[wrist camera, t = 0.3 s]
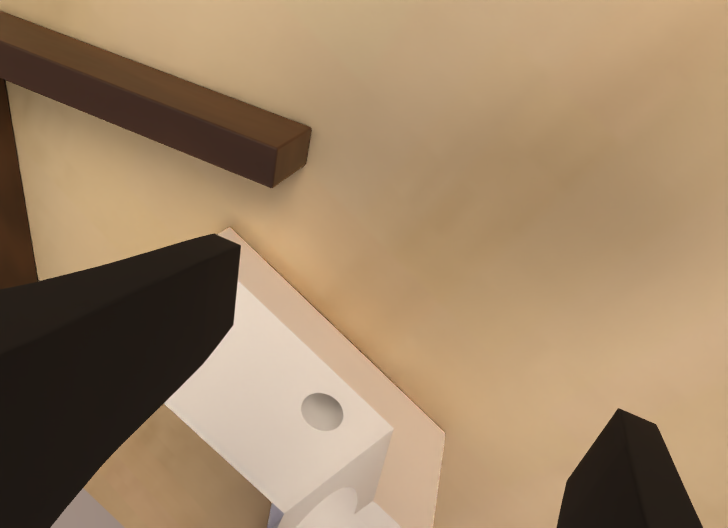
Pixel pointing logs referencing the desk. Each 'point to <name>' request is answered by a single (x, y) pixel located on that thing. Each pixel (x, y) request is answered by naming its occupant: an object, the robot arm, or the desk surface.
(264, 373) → the bracket
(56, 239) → the desk surface
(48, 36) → the corner stop
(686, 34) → the desk surface
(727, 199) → the desk surface
